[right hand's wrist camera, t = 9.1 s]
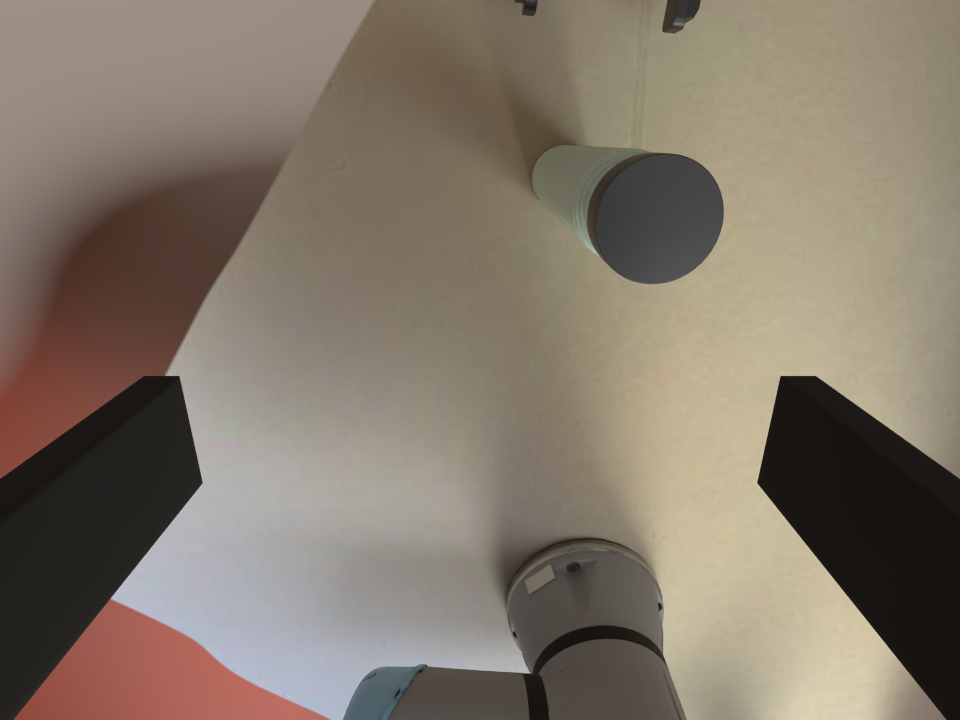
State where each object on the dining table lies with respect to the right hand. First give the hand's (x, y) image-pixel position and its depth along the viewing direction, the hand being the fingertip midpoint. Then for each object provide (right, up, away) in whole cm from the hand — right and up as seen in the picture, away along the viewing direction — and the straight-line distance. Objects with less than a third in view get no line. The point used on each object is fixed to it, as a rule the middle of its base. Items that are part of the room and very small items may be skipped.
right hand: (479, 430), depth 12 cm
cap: (+6, +6, +7) cm, 11 cm away
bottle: (+6, +15, +29) cm, 33 cm away
